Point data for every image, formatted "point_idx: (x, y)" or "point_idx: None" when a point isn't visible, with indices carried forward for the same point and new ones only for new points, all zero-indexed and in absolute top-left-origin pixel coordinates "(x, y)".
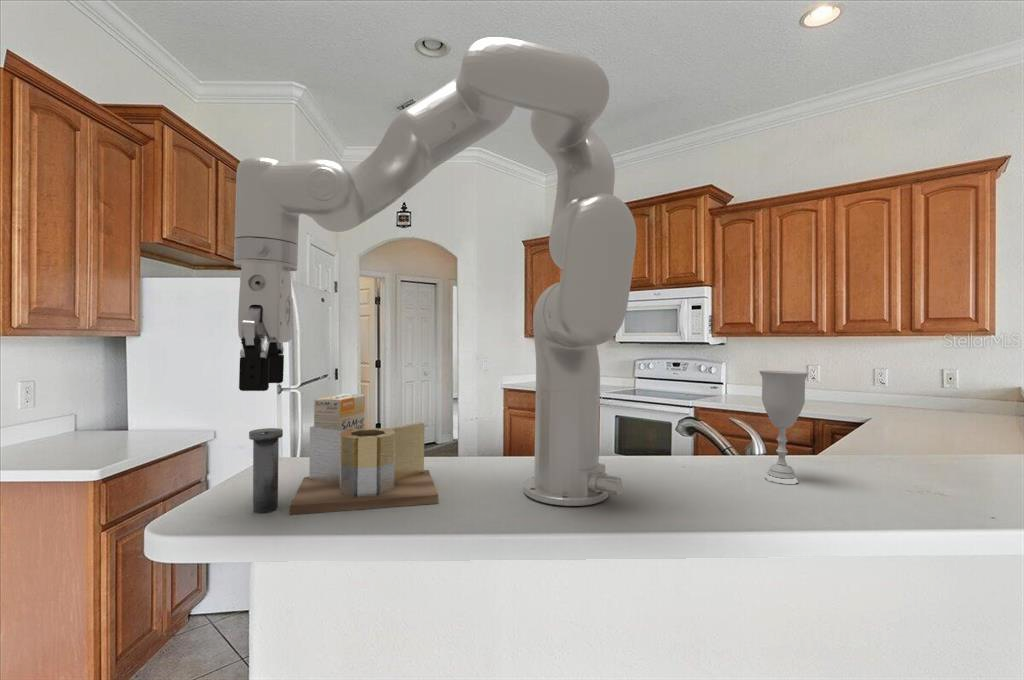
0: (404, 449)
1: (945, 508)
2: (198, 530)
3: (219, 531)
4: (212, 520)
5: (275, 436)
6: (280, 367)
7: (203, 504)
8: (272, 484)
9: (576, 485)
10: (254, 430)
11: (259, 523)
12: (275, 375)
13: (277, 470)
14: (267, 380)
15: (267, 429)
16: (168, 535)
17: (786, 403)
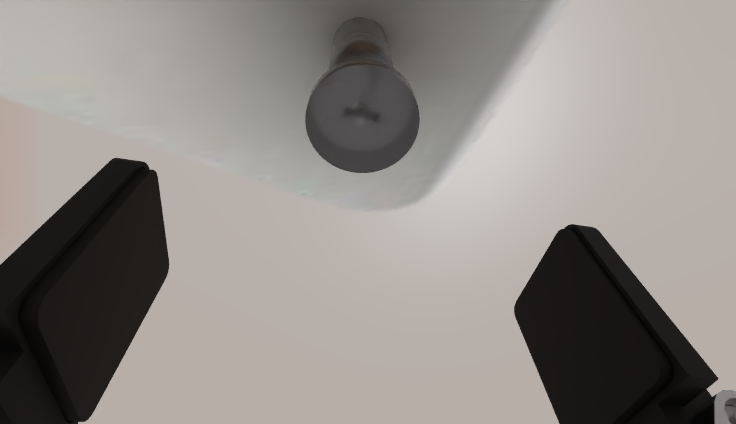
0: None
1: None
2: (429, 156)
3: (453, 125)
4: None
5: (410, 87)
6: (102, 237)
7: (280, 165)
8: (387, 48)
9: None
10: (336, 159)
11: (448, 57)
12: (142, 224)
13: (373, 43)
14: (619, 259)
15: (333, 120)
16: (429, 192)
17: None
